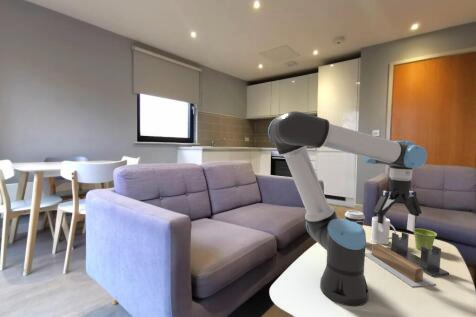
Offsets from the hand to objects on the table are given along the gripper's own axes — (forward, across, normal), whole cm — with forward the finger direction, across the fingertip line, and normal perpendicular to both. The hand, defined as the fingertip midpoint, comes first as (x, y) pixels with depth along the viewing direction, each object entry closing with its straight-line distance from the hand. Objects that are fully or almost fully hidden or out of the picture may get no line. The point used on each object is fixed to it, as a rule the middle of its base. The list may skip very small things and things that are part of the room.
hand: (396, 230), depth 98 cm
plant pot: (+15, +30, +14) cm, 36 cm away
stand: (+15, +14, +4) cm, 21 cm away
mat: (+16, +1, 0) cm, 16 cm away
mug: (+15, +16, +24) cm, 33 cm away
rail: (+15, 0, 0) cm, 15 cm away
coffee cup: (+16, +2, +28) cm, 32 cm away
